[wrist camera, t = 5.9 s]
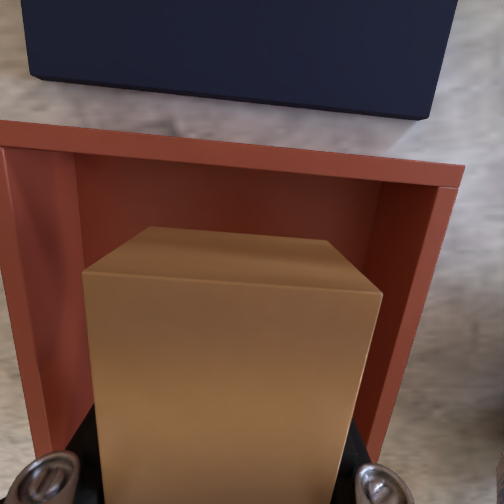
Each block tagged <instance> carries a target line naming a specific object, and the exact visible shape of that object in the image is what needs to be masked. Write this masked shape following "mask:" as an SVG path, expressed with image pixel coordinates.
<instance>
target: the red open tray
mask: <svg viewBox="0 0 504 504" xmlns="http://www.w3.org/2000/svg"><path fill="white" fill-rule="evenodd" d="M464 169H465V166H464V165H456V164H446V163H436V162H426V161H416V160H406V159H395V158H385V157H375V156H365V155H355V154H344V153H334V152H324V151H314V150H304V149H294V148H283V147H273V146H263V145H253V144H243V143H232V142H222V141H212V140H202V139H192V138H181V137H171V136H161V135H151V134H141V133H131V132H120V131H110V130H100V129H90V128H80V127H69V126H59V125H49V124H39V123H29V122H19V121H8V120H0V268H1V274H2V279H3V284H4V290H5V295H6V300H7V306H8V311H9V317H10V322H11V327H12V333H13V338H14V344H15V349H16V354H17V360H18V365H19V370H20V376H21V381H22V387H23V392H24V397H25V403H26V408H27V414H28V419H29V424H30V430H31V435H32V441H33V446H34V451H35V457H36V459H37V458H39V457H41V456H43V455H45V454H47V453H50V452H53V451H57V450H65V448H66V447H67V445H68V444H69V442H70V440H71V439H72V437H73V436H74V434H75V432H76V431H77V429H78V428H79V426H80V424H81V423H82V421H83V420H84V418H85V417H86V415H87V413H88V412H89V410H90V409H91V407H92V405H93V404H94V396H93V386H92V376H91V367H90V357H89V348H88V338H87V328H86V319H85V309H84V300H83V290H82V280H81V272H82V271H83V270H84V269H86V268H87V267H89V266H90V265H92V264H93V263H95V262H96V261H98V260H99V259H101V258H103V257H104V256H106V255H107V254H109V253H110V252H112V251H113V250H115V249H116V248H118V247H119V246H121V245H122V244H124V243H125V242H127V241H128V240H130V239H131V238H133V237H134V236H136V235H137V234H139V233H140V232H142V231H143V230H145V229H146V228H148V227H150V226H155V227H167V228H179V229H192V230H204V231H216V232H229V233H241V234H253V235H266V236H278V237H290V238H302V239H315V240H326V241H328V242H329V243H330V244H331V245H332V246H333V247H334V248H335V249H337V250H338V251H339V252H340V253H341V254H342V255H343V256H344V257H345V258H346V259H347V260H348V261H349V262H350V263H351V264H352V265H353V266H355V267H356V268H357V269H358V270H359V271H360V272H361V273H362V274H363V275H364V276H365V277H366V278H367V279H368V280H369V281H370V282H371V283H373V284H374V285H375V286H376V287H377V288H378V289H379V290H380V291H381V292H382V293H383V298H382V302H381V306H380V309H379V313H378V317H377V321H376V325H375V329H374V333H373V337H372V341H371V345H370V349H369V353H368V356H367V360H366V364H365V368H364V372H363V376H362V380H361V384H360V388H359V392H358V396H357V399H356V403H355V407H354V411H353V415H352V416H353V419H354V421H355V423H356V426H357V428H358V430H359V433H360V435H361V437H362V440H363V442H364V445H365V447H366V449H367V452H368V454H369V456H370V459H371V461H372V463H377V461H378V458H379V454H380V451H381V448H382V444H383V441H384V438H385V434H386V431H387V428H388V424H389V421H390V418H391V414H392V411H393V408H394V404H395V401H396V397H397V394H398V391H399V387H400V384H401V381H402V377H403V374H404V371H405V367H406V364H407V361H408V357H409V354H410V350H411V347H412V344H413V340H414V337H415V334H416V330H417V327H418V324H419V320H420V317H421V314H422V310H423V307H424V304H425V300H426V297H427V293H428V290H429V287H430V283H431V280H432V277H433V273H434V270H435V267H436V263H437V260H438V257H439V253H440V250H441V247H442V243H443V240H444V236H445V233H446V230H447V226H448V223H449V220H450V216H451V213H452V210H453V206H454V203H455V200H456V196H457V193H458V188H459V186H460V183H461V179H462V176H463V173H464Z"/></svg>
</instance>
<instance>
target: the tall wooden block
mask: <svg viewBox="0 0 504 504" xmlns="http://www.w3.org/2000/svg"><path fill="white" fill-rule="evenodd" d="M81 280H82V290H83V300H84V309H85V319H86V328H87V338H88V348H89V357H90V367H91V376H92V386H93V396H94V405H95V415H96V424H97V434H98V444H99V453H100V463H101V473H102V482H103V492H104V501H105V504H330V501H331V497H332V493H333V489H334V485H335V482H336V478H337V474H338V470H339V466H340V462H341V458H342V454H343V450H344V446H345V442H346V439H347V435H348V431H349V427H350V423H351V419H352V415H353V411H354V407H355V403H356V399H357V396H358V392H359V388H360V384H361V380H362V376H363V372H364V368H365V364H366V360H367V356H368V353H369V349H370V345H371V341H372V337H373V333H374V329H375V325H376V321H377V317H378V313H379V309H380V306H381V302H382V298H383V293H382V292H381V291H380V290H379V289H378V288H377V287H376V286H375V285H374V284H373V283H371V282H370V281H369V280H368V279H367V278H366V277H365V276H364V275H363V274H362V273H361V272H360V271H359V270H358V269H357V268H356V267H355V266H353V265H352V264H351V263H350V262H349V261H348V260H347V259H346V258H345V257H344V256H343V255H342V254H341V253H340V252H339V251H338V250H337V249H335V248H334V247H333V246H332V245H331V244H330V243H329V242H328V241H326V240H315V239H302V238H290V237H278V236H266V235H253V234H241V233H229V232H216V231H204V230H192V229H179V228H167V227H155V226H150V227H148V228H146V229H145V230H143V231H142V232H140V233H139V234H137V235H136V236H134V237H133V238H131V239H130V240H128V241H127V242H125V243H124V244H122V245H121V246H119V247H118V248H116V249H115V250H113V251H112V252H110V253H109V254H107V255H106V256H104V257H103V258H101V259H99V260H98V261H96V262H95V263H93V264H92V265H90V266H89V267H87V268H86V269H84V270H83V271H82V272H81Z"/></svg>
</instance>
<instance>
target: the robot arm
mask: <svg viewBox="0 0 504 504" xmlns="http://www.w3.org/2000/svg"><path fill="white" fill-rule="evenodd" d="M0 504H105V501H104V492H103V482H102V473H101V463H100V453H99V444H98V434H97V424H96V415H95V405H94V404H93V405H92V407H91V409H90V410H89V412H88V413H87V415H86V417H85V418H84V420H83V421H82V423H81V424H80V426H79V428H78V429H77V431H76V432H75V434H74V436H73V437H72V439H71V440H70V442H69V444H68V445H67V447H66V448H65V450H57V451H53V452H50V453H47V454H45V455H43V456H41V457H39V458H37V459H35V460H34V461H33V462H31V463H30V464H29V465H27V466H26V467H25V468H24V469H23V470H22V471H21V472H20V474H19V475H18V476H17V477H16V479H15V480H14V482H13V484H12V485H11V487H10V489H9V492H8V494H7V496H6V497H5V498H3V499H1V500H0ZM330 504H415V503H414V499H413V497H412V494H411V492H410V490H409V488H408V487H407V485H406V484H405V482H404V481H403V480H402V479H401V478H400V477H399V476H398V475H397V474H396V473H395V472H393V471H392V470H390V469H389V468H387V467H385V466H383V465H381V464H377V463H372V461H371V459H370V456H369V454H368V452H367V449H366V447H365V445H364V442H363V440H362V437H361V435H360V433H359V430H358V428H357V426H356V423H355V421H354V419H353V416H352V419H351V423H350V427H349V431H348V435H347V439H346V442H345V446H344V450H343V454H342V458H341V462H340V466H339V470H338V474H337V478H336V482H335V485H334V489H333V493H332V497H331V501H330Z"/></svg>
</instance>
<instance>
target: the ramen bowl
mask: <svg viewBox="0 0 504 504" xmlns="http://www.w3.org/2000/svg"><path fill="white" fill-rule="evenodd" d="M496 483H497V504H504V450H503V453H502V455H501V458H500V460H499V463H498V466H497V468H496Z"/></svg>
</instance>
